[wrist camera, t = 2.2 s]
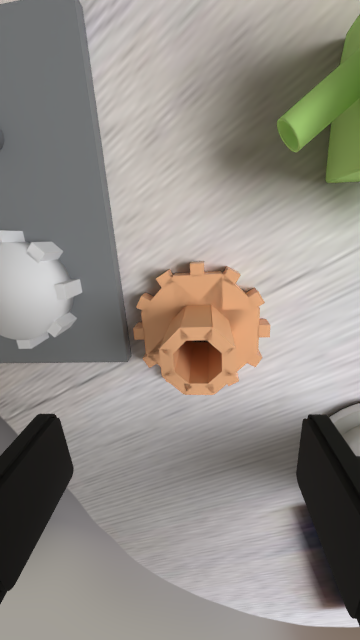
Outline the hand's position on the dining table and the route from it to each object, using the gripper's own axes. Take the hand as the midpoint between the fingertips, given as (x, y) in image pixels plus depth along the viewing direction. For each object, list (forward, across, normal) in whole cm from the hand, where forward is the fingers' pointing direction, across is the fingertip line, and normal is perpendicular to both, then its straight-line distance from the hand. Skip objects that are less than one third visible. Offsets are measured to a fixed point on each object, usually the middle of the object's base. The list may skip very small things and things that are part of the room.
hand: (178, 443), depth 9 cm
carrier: (+15, +14, -9) cm, 22 cm away
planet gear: (+14, -1, +1) cm, 14 cm away
